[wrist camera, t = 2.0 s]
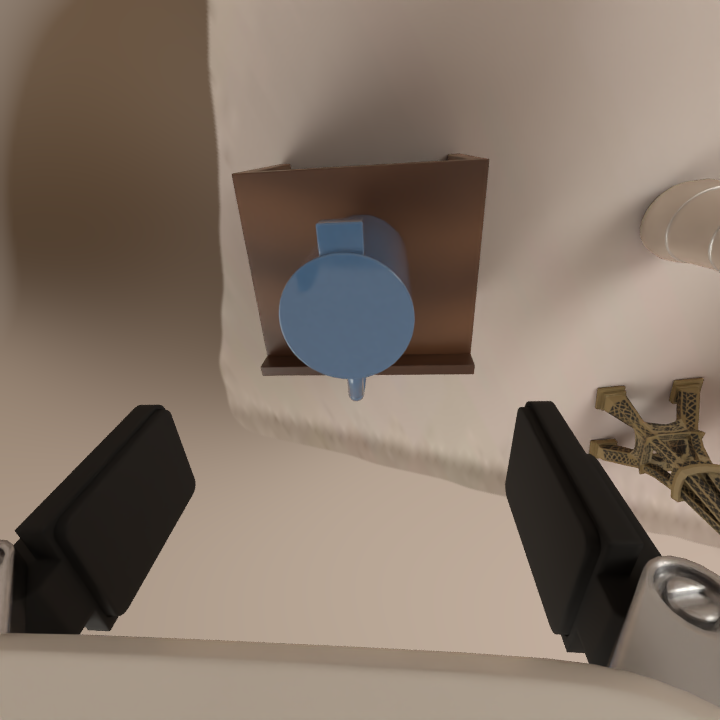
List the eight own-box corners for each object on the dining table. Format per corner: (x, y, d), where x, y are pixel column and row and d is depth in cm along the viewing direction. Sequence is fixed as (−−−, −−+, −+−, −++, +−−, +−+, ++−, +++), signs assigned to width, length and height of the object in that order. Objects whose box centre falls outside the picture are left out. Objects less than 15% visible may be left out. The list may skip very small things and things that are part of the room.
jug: (308, 197, 25) (262, 226, 16) (408, 191, 24) (416, 219, 16) (324, 339, 30) (295, 420, 21) (407, 338, 29) (413, 421, 21)
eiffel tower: (681, 450, 47) (926, 713, 25) (588, 457, 49) (744, 710, 27) (701, 377, 42) (1028, 628, 20) (597, 388, 44) (798, 630, 22)
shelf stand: (279, 164, 35) (219, 175, 23) (459, 153, 33) (496, 160, 21) (300, 308, 42) (262, 375, 30) (450, 305, 40) (474, 374, 28)
